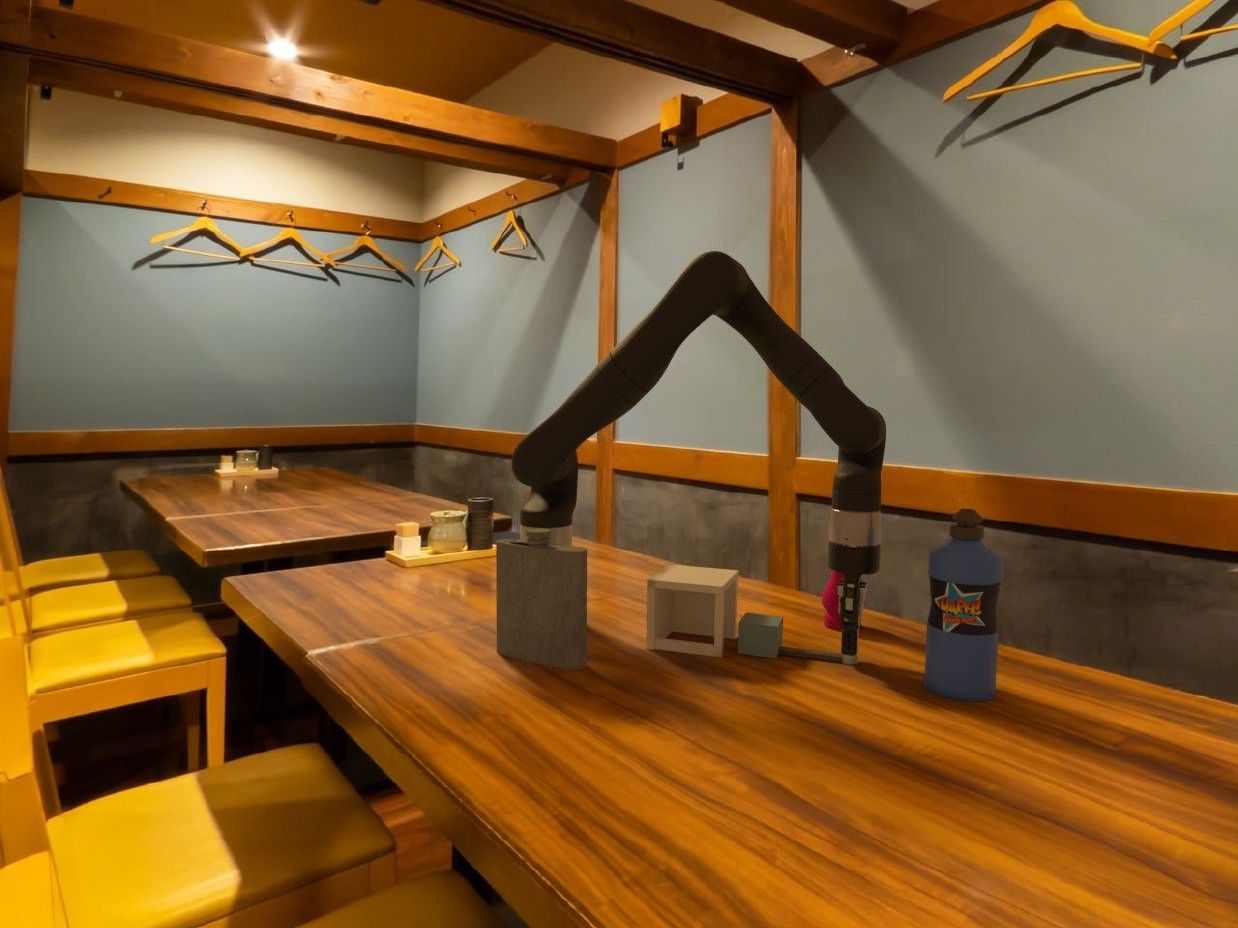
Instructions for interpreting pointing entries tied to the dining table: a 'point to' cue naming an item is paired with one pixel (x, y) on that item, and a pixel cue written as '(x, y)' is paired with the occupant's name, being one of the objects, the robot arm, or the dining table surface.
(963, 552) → the water bottle
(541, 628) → the hip flask
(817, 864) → the dining table surface
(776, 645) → the grey block with handle
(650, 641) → the shelf
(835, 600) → the pepper mill
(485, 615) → the dining table surface
